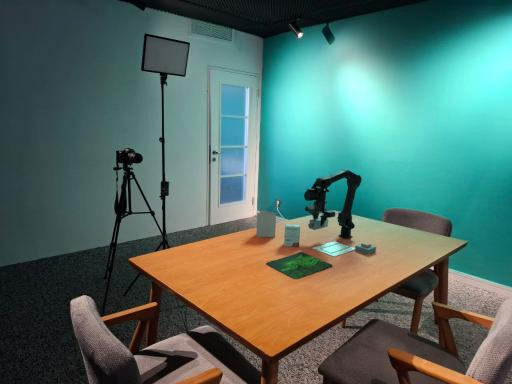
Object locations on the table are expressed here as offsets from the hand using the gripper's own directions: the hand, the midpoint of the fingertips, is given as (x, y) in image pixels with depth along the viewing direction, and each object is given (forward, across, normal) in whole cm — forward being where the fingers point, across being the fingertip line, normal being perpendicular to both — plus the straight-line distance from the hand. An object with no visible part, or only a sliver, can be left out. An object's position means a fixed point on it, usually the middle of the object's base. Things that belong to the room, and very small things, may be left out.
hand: (318, 225), depth 202 cm
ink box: (+10, -4, -18) cm, 21 cm away
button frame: (+10, +26, +10) cm, 30 cm away
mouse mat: (+10, +18, -35) cm, 41 cm away
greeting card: (+10, -24, -21) cm, 33 cm away
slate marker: (+1, 0, 0) cm, 1 cm away
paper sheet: (+10, +14, -2) cm, 17 cm away
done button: (+8, +26, +10) cm, 29 cm away
